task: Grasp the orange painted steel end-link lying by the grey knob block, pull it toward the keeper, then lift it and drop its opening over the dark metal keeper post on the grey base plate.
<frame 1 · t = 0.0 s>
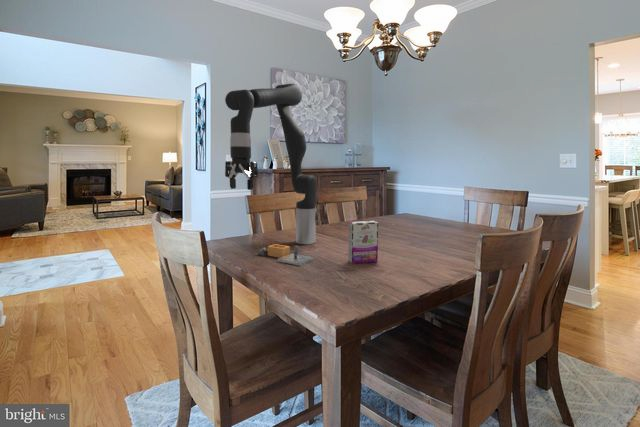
hand: (241, 189, 141), 29 cm above the table, fingers open, 8 cm apart
candy bar box: (362, 262, 151), on the table
keeper: (296, 260, 150), on the table
grey knob block: (263, 254, 160), on the table
orange link: (278, 255, 159), on the table
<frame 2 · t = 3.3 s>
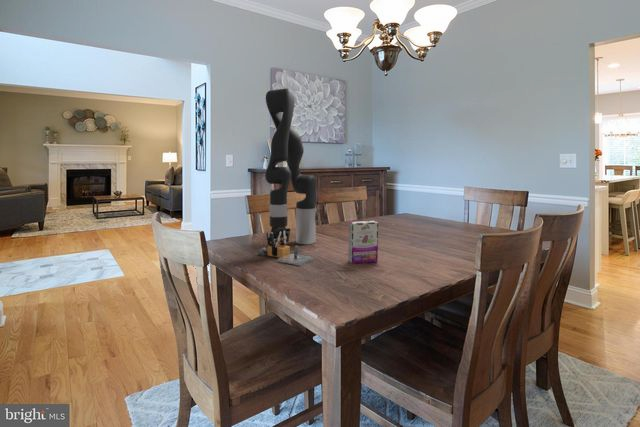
hand: (278, 254, 158), 1 cm above the table, fingers closed on orange link, 5 cm apart
orange link: (278, 255, 159), on the table, touching gripper
everything else where it was.
when the fingers open (4 cm above the table, at t = 8.4 s): orange link drops 2 cm, resting on keeper.
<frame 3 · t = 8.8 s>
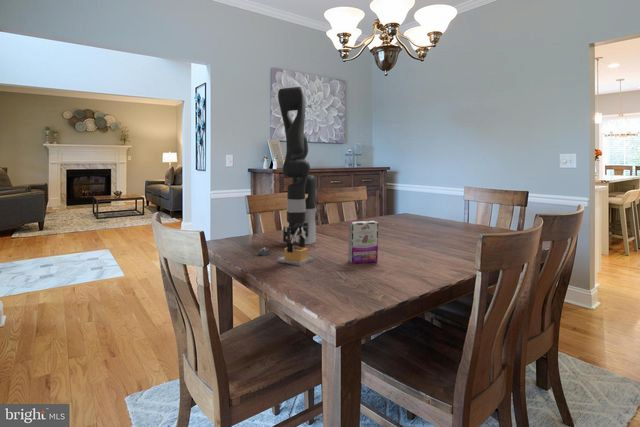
hand: (296, 250, 150), 5 cm above the table, fingers open, 8 cm apart
orange link: (296, 258, 150), point 1 cm above the table, touching keeper
everything else where it was.
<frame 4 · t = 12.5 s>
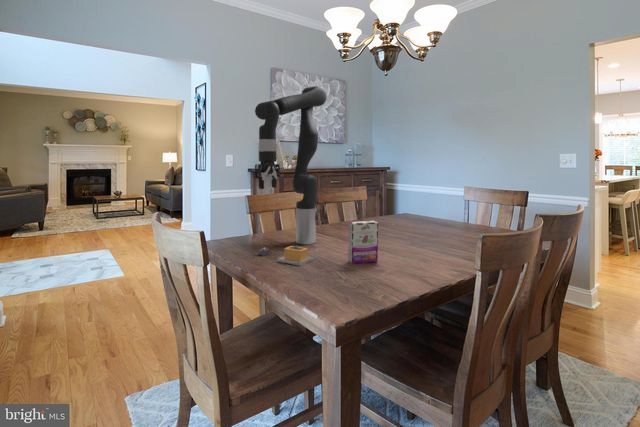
hand: (267, 188, 161), 28 cm above the table, fingers open, 8 cm apart
nothing on the table moved.
at the end: orange link 0.0 cm off-centre on the keeper, point 1.2 cm above the keeper's base; the gripper is holding nothing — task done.
